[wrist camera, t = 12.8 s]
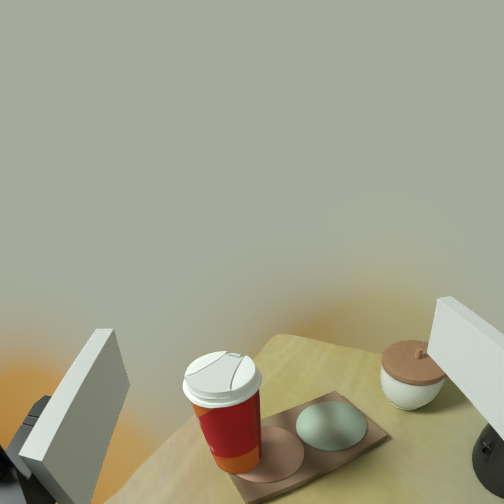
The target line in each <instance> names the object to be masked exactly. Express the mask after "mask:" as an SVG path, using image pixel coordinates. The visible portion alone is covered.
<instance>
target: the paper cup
mask: <svg viewBox="0 0 504 504" xmlns="http://www.w3.org/2000/svg"><path fill="white" fill-rule="evenodd" d="M261 383H262V376H261V373H260V371H259V369H258V368H257V367H256V365H255V363H254V362H253V361H252V360H251V359H250V358H249V357H247V356H245V357H243V356H242V355H241V354H236V353H231V354H230V353H228V352H227V351H222V352H214V353H210V354H207V355H204V356H202V357H200V358H198V359H196V360H195V361H194V362H192V363H191V365H190V366H189V367H188V368H187V370H186V373H185V379H184V382H183V390H184V393H185V395H186V396H187V397H188V398H189V399H190V400H191V403H192V405H193V408H194V410H195V413H196V416H197V419H198V421H199V424H200V426H201V429H202V431H203V434H204V436H205V439H206V441H207V443H208V446H209V448H210V450H211V453H212V455H213V457H214V459H215V461H216V463H217V465H218V466H219V467H220V468H221V469H222V470H224V471H226V472H228V473H232V474H242V473H246V472H249V471H251V470H253V469H254V468H255V467H256V466H257V465H258V464H259V463H260V460H261V455H262V443H261V418H260V396H259V387H260V385H261Z"/></svg>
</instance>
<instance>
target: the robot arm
mask: <svg viewBox="0 0 504 504" xmlns="http://www.w3.org/2000/svg"><path fill="white" fill-rule="evenodd" d="M427 354H428V355H429V356H430V357H431V358H432V359H433V360H434V361H435V362H436V363H437V364H438V366H439V367H440V368H441V369H442V370H443V371H444V372H445V373H446V374H447V375H448V377H449V378H450V379H451V380H452V381H453V382H454V383H455V384H456V385H457V387H458V388H459V389H460V390H461V391H462V392H463V393H464V394H465V396H466V397H467V398H468V399H469V400H470V401H471V402H472V404H473V405H474V406H475V407H476V408H477V409H478V410H479V412H480V413H481V414H482V415H483V416H484V417H485V419H486V420H487V421H488V422H489V423H488V424H487V425H486V427H485V428H484V429H483V431H482V432H481V434H480V436H479V438H478V440H477V441H476V443H475V446H474V449H473V454H472V462H473V468H474V471H475V473H476V475H477V477H478V479H479V481H480V482H481V483H482V484H483V486H484V487H485V488H486V489H488V490H489V491H490V492H492V493H493V494H495V495H497V496H499V497H501V498H504V335H503V334H502V333H501V332H499V331H498V330H497V329H495V328H494V327H493V326H491V325H490V324H489V323H487V322H486V321H485V320H483V319H482V318H480V317H479V316H478V315H476V314H475V313H474V312H472V311H471V310H470V309H468V308H467V307H465V306H464V305H462V304H461V303H460V302H458V301H457V300H456V299H454V298H453V297H451V296H449V297H443V298H438V299H437V305H436V311H435V316H434V321H433V326H432V331H431V336H430V340H429V344H428V349H427ZM129 386H130V383H129V380H128V377H127V374H126V370H125V367H124V364H123V361H122V357H121V354H120V350H119V347H118V343H117V339H116V335H115V332H114V329H96V330H95V331H94V333H93V334H92V336H91V337H90V339H89V340H88V342H87V343H86V345H85V346H84V348H83V349H82V351H81V352H80V354H79V355H78V356H77V358H76V360H75V361H74V363H73V364H72V366H71V367H70V369H69V370H68V372H67V373H66V375H65V376H64V378H63V380H62V381H61V383H60V384H59V386H58V388H57V389H56V391H55V392H54V394H53V396H44V397H42V398H41V399H40V400H39V401H38V402H36V403H35V404H34V405H33V407H32V409H31V410H30V412H29V413H28V417H26V418H25V420H24V421H23V425H21V426H20V428H19V429H18V431H17V433H16V434H15V436H14V438H13V439H12V441H11V443H10V444H9V446H8V448H7V450H6V451H4V449H3V448H2V447H1V445H0V504H55V503H56V502H57V503H58V504H91V500H92V497H93V493H94V490H95V487H96V484H97V480H98V477H99V474H100V471H101V467H102V464H103V461H104V458H105V455H106V452H107V449H108V446H109V443H110V440H111V437H112V434H113V431H114V428H115V426H116V423H117V420H118V417H119V414H120V411H121V409H122V406H123V403H124V400H125V397H126V395H127V392H128V389H129Z"/></svg>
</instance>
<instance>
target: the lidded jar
mask: <svg viewBox="0 0 504 504" xmlns="http://www.w3.org/2000/svg"><path fill="white" fill-rule="evenodd" d="M428 344H429V343H426V342H421V341H401V342H397V343H394V344H392V345H390V346H389V347H388V348H387V349H386V350H385V351H384V353H383V356H382V365H381V372H380V384H381V388H382V391H383V393H384V395H385V397H386V398H387V399H388V400H389V402H390V403H391V404H392V405H393V406H394V407H396V408H398V409H400V410H406V411H411V410H415V409H418V408H419V407H422V406H424V405H426V404H428V403H429V402H431V401H432V400H433V399H434V398H435V397H436V396H437V394H438V393H439V391H440V390H441V388H442V386H443V384H444V381H445V379H446V376H447V374H446V373H445V372H444V371H443V370H442V369H441V368H440V367H439V366H438V364H437V363H436V362H435V361H434V360H433V359H432V358H431V357H430V356H429V355H428V354H427V349H428Z"/></svg>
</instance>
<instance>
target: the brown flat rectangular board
mask: <svg viewBox="0 0 504 504" xmlns="http://www.w3.org/2000/svg"><path fill="white" fill-rule="evenodd" d="M386 437H387V434H386V433H385V432H384V431H383V430H381V429H380V428H379V427H378V426H376V425H375V424H374V423H373V422H372V421H370V420H369V419H368V418H367V417H366V416H364V415H363V414H362V413H361V412H360V411H359V410H358V409H356V408H355V407H354V406H353V405H351V404H350V403H349V402H348V401H347V400H346V399H344V398H343V397H342V396H341V395H340V394H339V393H337V392H336V391H333V392H331V393H328V394H326V395H324V396H321V397H319V398H316V399H314V400H312V401H309V402H307V403H304V404H302V405H299V406H296V407H294V408H291V409H289V410H286V411H283V412H281V413H278V414H275V415H272V416H269V417H267V418H264V419H261V443H262V455H261V460H260V463H259V464H258V465H257V466H256V467H255V468H254V469H253V470H251V471H249V472H246V473H242V474H232V473H228V474H229V475H230V477H231V479H232V481H233V482H234V484H235V486H236V488H237V489H238V491H239V493H240V494H241V496H242V498H243V500H244V501H245V503H246V504H258V503H260V502H263V501H266V500H268V499H271V498H273V497H276V496H278V495H281V494H283V493H286V492H288V491H290V490H293V489H295V488H297V487H299V486H302V485H304V484H306V483H308V482H310V481H312V480H314V479H317V478H319V477H321V476H323V475H325V474H327V473H329V472H331V471H333V470H334V469H336V468H338V467H340V466H342V465H344V464H346V463H348V462H349V461H351V460H353V459H355V458H357V457H358V456H360V455H362V454H363V453H365V452H367V451H369V450H370V449H372V448H374V447H375V446H377V445H378V444H380V443H382V442H383V441H385V440H386Z"/></svg>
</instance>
